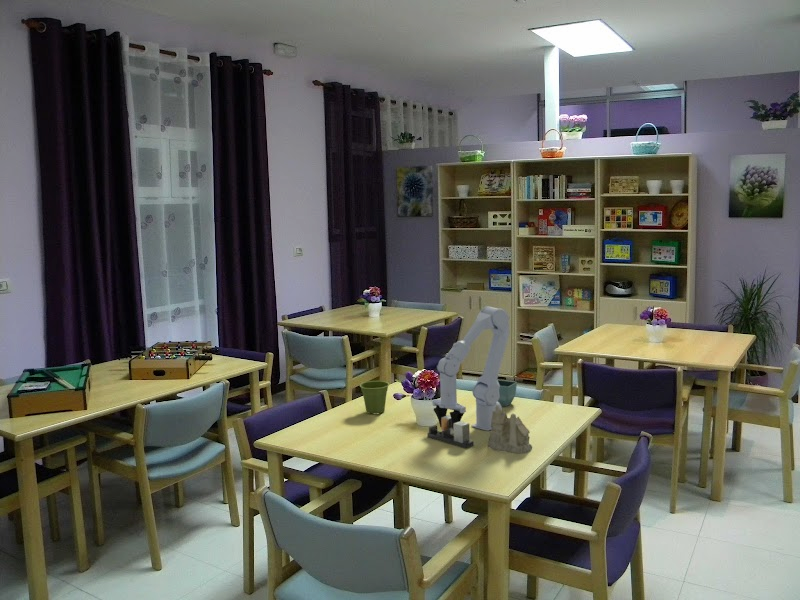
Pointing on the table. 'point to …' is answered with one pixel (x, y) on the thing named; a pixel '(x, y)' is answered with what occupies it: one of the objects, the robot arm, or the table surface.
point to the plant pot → (374, 395)
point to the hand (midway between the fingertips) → (449, 428)
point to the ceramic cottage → (508, 434)
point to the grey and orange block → (447, 423)
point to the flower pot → (506, 392)
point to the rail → (447, 437)
